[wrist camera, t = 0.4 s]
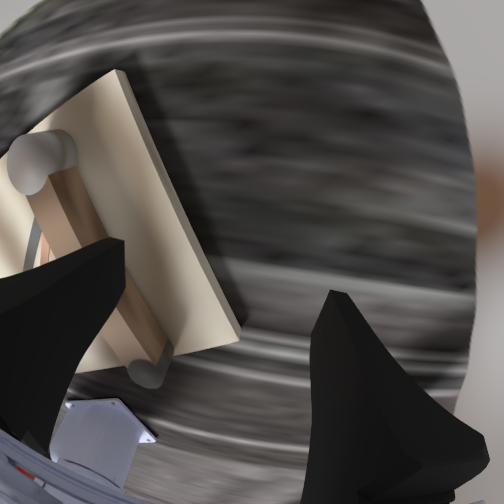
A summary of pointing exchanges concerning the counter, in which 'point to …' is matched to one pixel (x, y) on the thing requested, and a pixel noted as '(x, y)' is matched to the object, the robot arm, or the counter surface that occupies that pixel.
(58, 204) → the lever
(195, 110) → the counter surface
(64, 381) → the robot arm
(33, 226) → the board
